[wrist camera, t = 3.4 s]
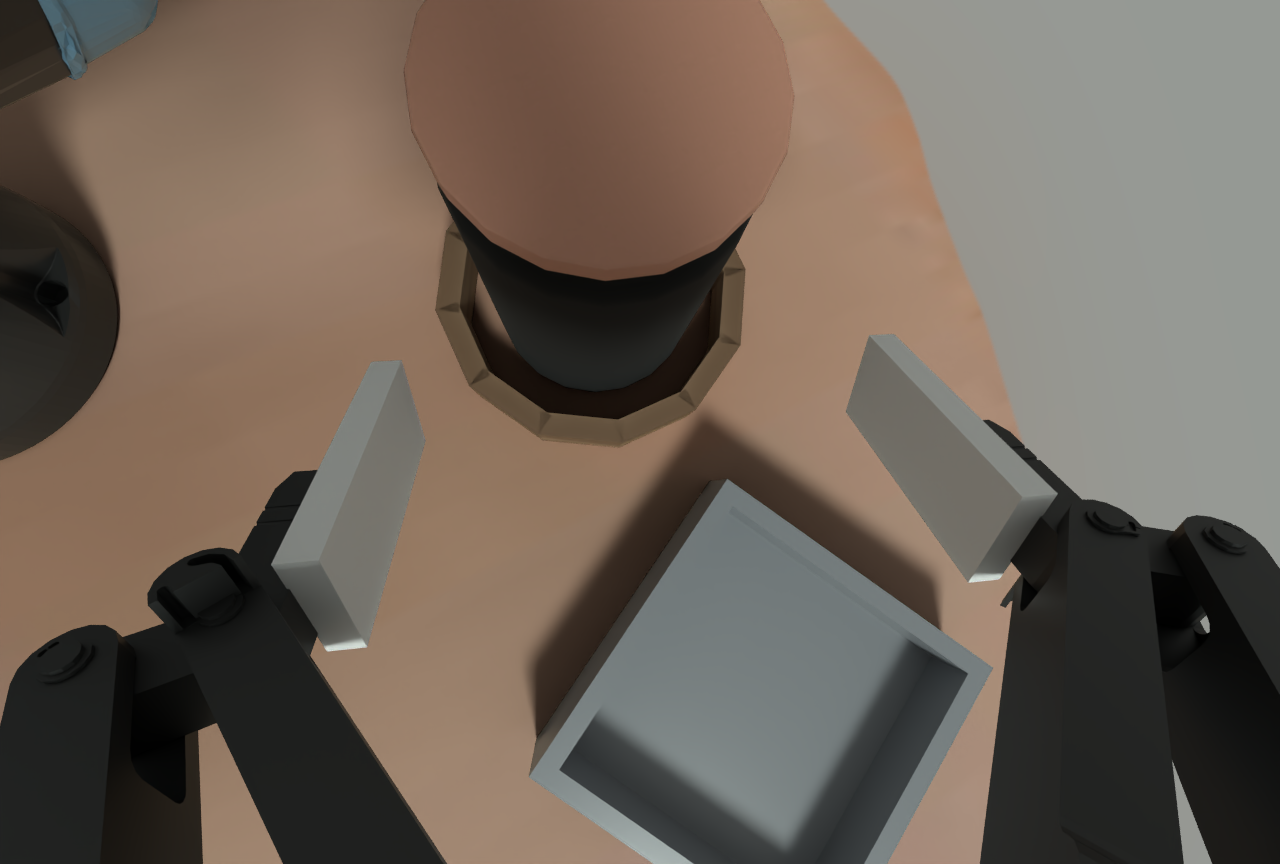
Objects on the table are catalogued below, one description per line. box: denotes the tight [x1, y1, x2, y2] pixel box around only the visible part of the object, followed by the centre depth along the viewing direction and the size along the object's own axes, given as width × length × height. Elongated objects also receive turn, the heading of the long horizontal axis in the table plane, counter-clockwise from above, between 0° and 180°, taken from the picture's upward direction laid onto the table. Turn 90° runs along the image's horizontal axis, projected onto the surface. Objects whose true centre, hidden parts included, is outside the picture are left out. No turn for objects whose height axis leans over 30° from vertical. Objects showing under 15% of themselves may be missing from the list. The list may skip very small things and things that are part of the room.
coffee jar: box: [404, 0, 794, 392], centre depth 24 cm, size 11×11×18 cm
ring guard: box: [435, 222, 745, 448], centre depth 31 cm, size 16×16×3 cm
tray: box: [529, 479, 993, 864], centre depth 29 cm, size 17×17×4 cm
